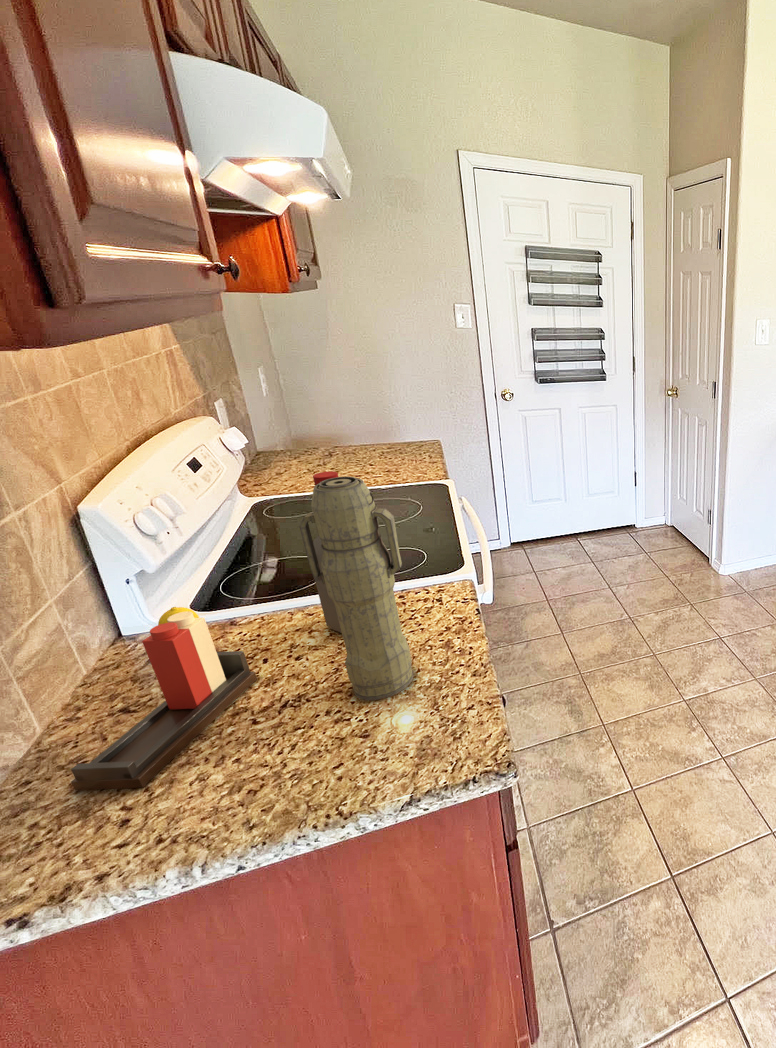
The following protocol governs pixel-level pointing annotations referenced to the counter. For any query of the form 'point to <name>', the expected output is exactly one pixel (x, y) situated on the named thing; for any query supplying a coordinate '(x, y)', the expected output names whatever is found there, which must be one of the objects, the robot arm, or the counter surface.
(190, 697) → the marker red
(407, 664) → the thermos
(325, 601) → the liquor
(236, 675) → the rail
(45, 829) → the counter surface
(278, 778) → the counter surface
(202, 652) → the marker cream
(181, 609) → the lemon
